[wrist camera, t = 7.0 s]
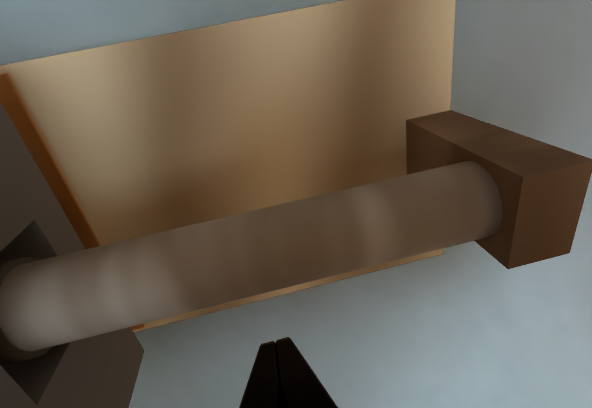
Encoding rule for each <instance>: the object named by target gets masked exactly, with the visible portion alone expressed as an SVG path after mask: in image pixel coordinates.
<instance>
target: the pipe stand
mask: <svg viewBox="0 0 592 408" xmlns="http://www.w3.org/2000/svg"><path fill="white" fill-rule="evenodd" d="M455 2H456V0H344V1H339V2H334V3H328V4H323V5H318V6H312V7H307V8H302V9H297V10H291V11H286V12H281V13H276V14H270V15H265V16H260V17H255V18H249V19H244V20H239V21H233V22H228V23H223V24H218V25H212V26H207V27H202V28H197V29H191V30H186V31H181V32H175V33H170V34H165V35H160V36H154V37H149V38H144V39H139V40H133V41H128V42H123V43H118V44H112V45H107V46H102V47H96V48H91V49H86V50H81V51H75V52H70V53H65V54H60V55H54V56H49V57H44V58H38V59H33V60H28V61H23V62H17V63H12V64H7V65H2V66H0V101H1V103H2V105H3V106H4V108H5V110H6V112H7V113H8V115H9V117H10V119H11V120H12V122H13V124H14V126H15V127H16V129H17V131H18V133H19V134H20V136H21V138H22V140H23V141H24V143H25V145H26V146H27V148H28V150H29V152H30V153H31V155H32V157H33V159H34V160H35V162H36V164H37V166H38V167H39V169H40V171H41V173H42V174H43V176H44V178H45V179H46V181H47V183H48V185H49V186H50V188H51V190H52V192H53V193H54V195H55V197H56V199H57V200H58V202H59V204H60V206H61V207H62V209H63V211H64V213H65V214H66V216H67V218H68V219H69V221H70V223H71V225H72V226H73V228H74V230H75V232H76V233H77V235H78V237H79V239H80V240H81V242H82V244H83V246H84V247H85V249H86V250H81V251H77V252H73V253H68V254H64V255H60V256H55V257H51V258H47V259H43V260H38V259H36V258H31V257H23V258H19V259H14V260H10V261H6V262H1V263H0V365H1V366H5V365H9V364H13V363H17V362H21V361H25V360H29V359H33V358H36V357H39V356H41V355H43V354H45V353H46V352H48V351H49V350H50V349H51V348H52V347H53V346H56V345H60V344H64V343H68V342H72V341H76V340H80V339H84V338H88V337H92V336H96V335H100V334H104V333H108V332H112V331H116V330H120V329H124V328H128V327H131V329H132V331H133V332H137V331H141V330H145V329H149V328H153V327H157V326H161V325H165V324H169V323H173V322H177V321H181V320H185V319H189V318H193V317H196V316H200V315H204V314H208V313H212V312H216V311H220V310H224V309H228V308H232V307H236V306H240V305H244V304H248V303H252V302H256V301H260V300H264V299H268V298H272V297H276V296H280V295H284V294H288V293H292V292H295V291H299V290H303V289H307V288H311V287H315V286H319V285H323V284H327V283H331V282H335V281H339V280H343V279H347V278H351V277H355V276H359V275H363V274H367V273H371V272H375V271H379V270H383V269H387V268H391V267H394V266H398V265H402V264H406V263H410V262H414V261H418V260H422V259H426V258H430V257H434V256H438V255H442V254H443V248H446V247H450V246H454V245H458V244H462V243H466V242H470V241H475V242H476V243H478V244H479V245H480V246H481V247H482V248H484V249H485V250H486V251H487V252H488V253H489V254H491V255H492V256H493V257H494V258H495V259H497V260H498V261H499V262H500V263H501V264H502V265H504V266H505V267H506V268H507V269H510V268H514V267H518V266H522V265H526V264H529V263H533V262H537V261H541V260H545V259H549V258H553V257H556V256H560V255H564V254H568V253H570V250H571V246H572V242H573V239H574V235H575V231H576V228H577V224H578V220H579V217H580V213H581V209H582V206H583V202H584V198H585V195H586V191H587V187H588V183H589V180H590V176H591V172H592V159H590V158H587V157H584V156H581V155H578V154H575V153H572V152H570V151H567V150H564V149H561V148H558V147H555V146H552V145H549V144H546V143H544V142H541V141H538V140H535V139H532V138H529V137H526V136H523V135H520V134H518V133H515V132H512V131H509V130H506V129H503V128H500V127H497V126H494V125H491V124H489V123H486V122H483V121H480V120H477V119H474V118H471V117H468V116H465V115H463V114H460V113H457V112H454V111H451V110H450V103H451V83H452V62H453V42H454V22H455Z"/></svg>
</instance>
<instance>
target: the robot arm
mask: <svg viewBox="0 0 592 408" xmlns="http://www.w3.org/2000/svg"><path fill="white" fill-rule="evenodd" d="M239 408H338V407H337V406H336V404H335V403H334V401H333V400H332V398H331V397H330V395H329V394H328V392H327V391H326V389H325V388H324V387H323V385H322V384H321V382H320V381H319V379H318V378H317V376H316V375H315V373H314V372H313V370H312V369H311V368H310V366H309V365H308V363H307V362H306V360H305V359H304V357H303V356H302V354H301V353H300V351H299V350H298V349H297V347H296V346H295V344H294V343H293V341H292V340H291V338H289V337H286V338H282V339H279V340H277V341H276V343H275V342H274V341H271V342H267V343H263V344H261V345H260V347H259V350H258V353H257V356H256V359H255V362H254V365H253V368H252V371H251V374H250V377H249V380H248V383H247V386H246V389H245V392H244V395H243V398H242V401H241V404H240V407H239Z"/></svg>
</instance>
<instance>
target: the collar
mask: <svg viewBox="0 0 592 408" xmlns="http://www.w3.org/2000/svg"><path fill="white" fill-rule="evenodd" d="M81 250H86V249H85V247H84V246H83V244H82V242H81V240H80V239H79V237H78V235H77V233H76V232H75V230H74V228H73V226H72V225H71V223H70V221H69V219H68V218H67V216H66V214H65V213H64V211H63V209H62V207H61V206H60V204H59V202H58V200H57V199H56V197H55V195H54V193H53V192H52V190H51V188H50V186H49V185H48V183H47V181H46V179H45V178H44V176H43V174H42V173H41V171H40V169H39V167H38V166H37V164H36V162H35V160H34V159H33V157H32V155H31V153H30V152H29V150H28V148H27V146H26V145H25V143H24V141H23V140H22V138H21V136H20V134H19V133H18V131H17V129H16V127H15V126H14V124H13V122H12V120H11V119H10V117H9V115H8V113H7V112H6V110H5V108H4V106H3V105H2V103H1V101H0V263H1V262H6V261H10V260H14V259H19V258H23V257H31V258H36V259H38V260H43V259H47V258H51V257H55V256H60V255H64V254H68V253H73V252H77V251H81ZM143 353H144V350H143V348H142V346H141V345H140V343H139V341H138V339H137V338H136V336H135V334H134V332H133V331H132V329H131V327H128V328H124V329H120V330H116V331H112V332H108V333H104V334H100V335H96V336H92V337H88V338H84V339H80V340H76V341H72V342H68V343H64V344H60V345H56V346H53V347H52V348H51V349H50V350H49V351H48V352H46V353H45V354H43V355H41V356H39V357H36V358H33V359H29V360H25V361H21V362H17V363H13V364H9V365H5V366H1V365H0V408H128V407H129V403H130V400H131V396H132V393H133V389H134V385H135V382H136V378H137V375H138V371H139V367H140V364H141V360H142V356H143Z"/></svg>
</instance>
